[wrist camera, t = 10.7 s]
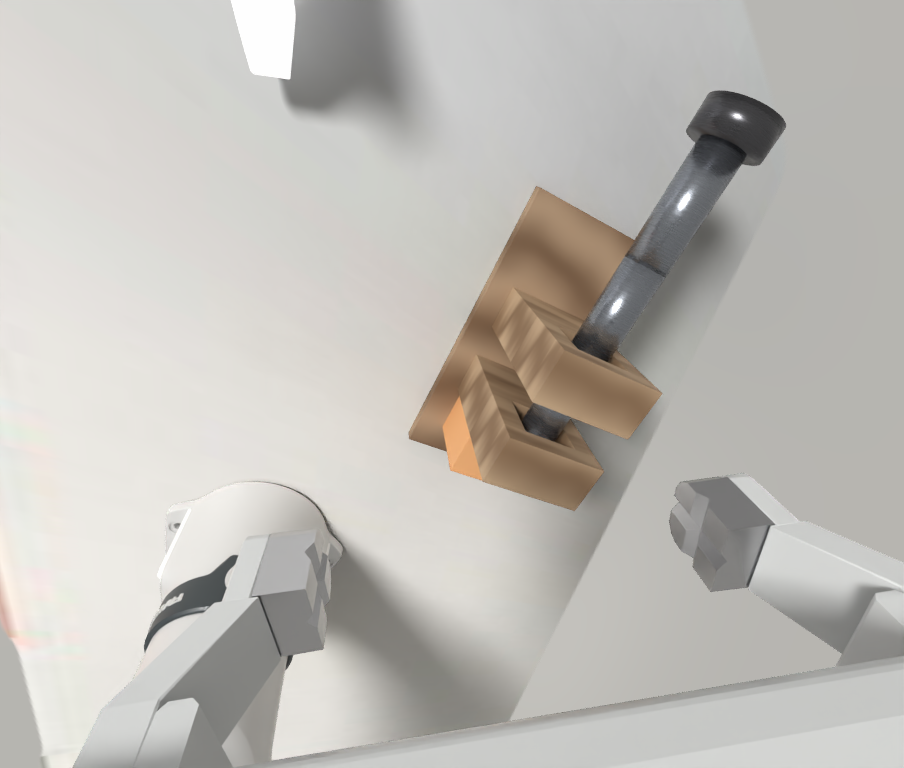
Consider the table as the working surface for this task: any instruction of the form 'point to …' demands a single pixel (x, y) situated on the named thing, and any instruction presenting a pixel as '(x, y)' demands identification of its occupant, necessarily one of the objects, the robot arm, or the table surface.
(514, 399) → the threaded rod press
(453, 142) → the table surface
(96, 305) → the table surface
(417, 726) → the table surface
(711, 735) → the robot arm
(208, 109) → the table surface
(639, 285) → the shaft
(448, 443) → the block
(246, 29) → the handgun
